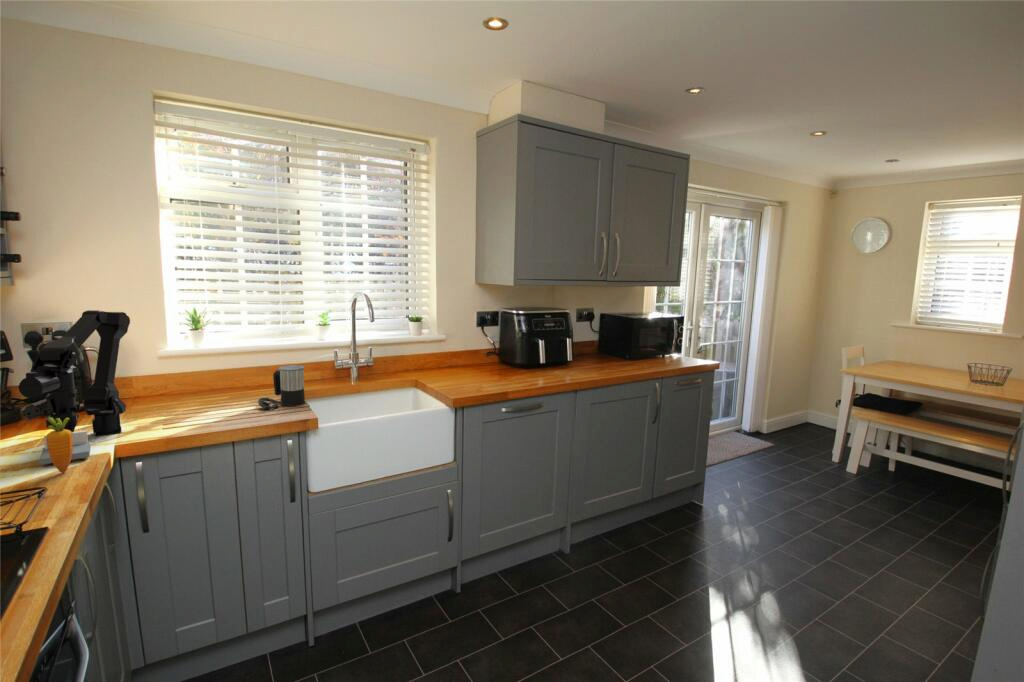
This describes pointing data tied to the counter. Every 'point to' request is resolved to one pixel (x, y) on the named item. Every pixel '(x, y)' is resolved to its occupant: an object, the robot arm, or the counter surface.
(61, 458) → the carrot
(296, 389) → the milk frother
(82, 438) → the grey and white block
